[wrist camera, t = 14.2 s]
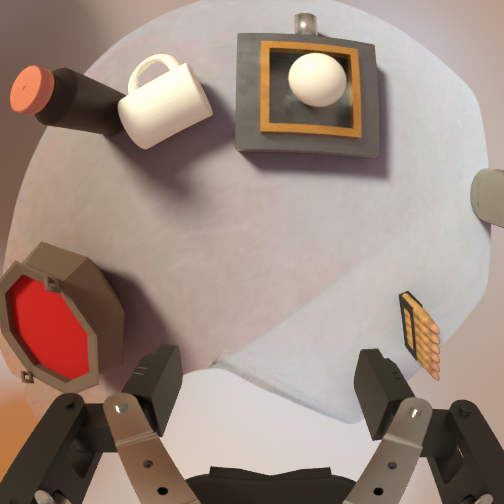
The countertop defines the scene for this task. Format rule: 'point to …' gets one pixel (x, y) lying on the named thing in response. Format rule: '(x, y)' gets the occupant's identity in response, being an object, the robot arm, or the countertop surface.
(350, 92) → the grey shallow box
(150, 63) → the mug
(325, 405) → the countertop surface
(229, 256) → the countertop surface
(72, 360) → the brown cauldron
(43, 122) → the bottle
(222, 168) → the countertop surface
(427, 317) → the ammunition clip
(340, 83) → the lightbulb
